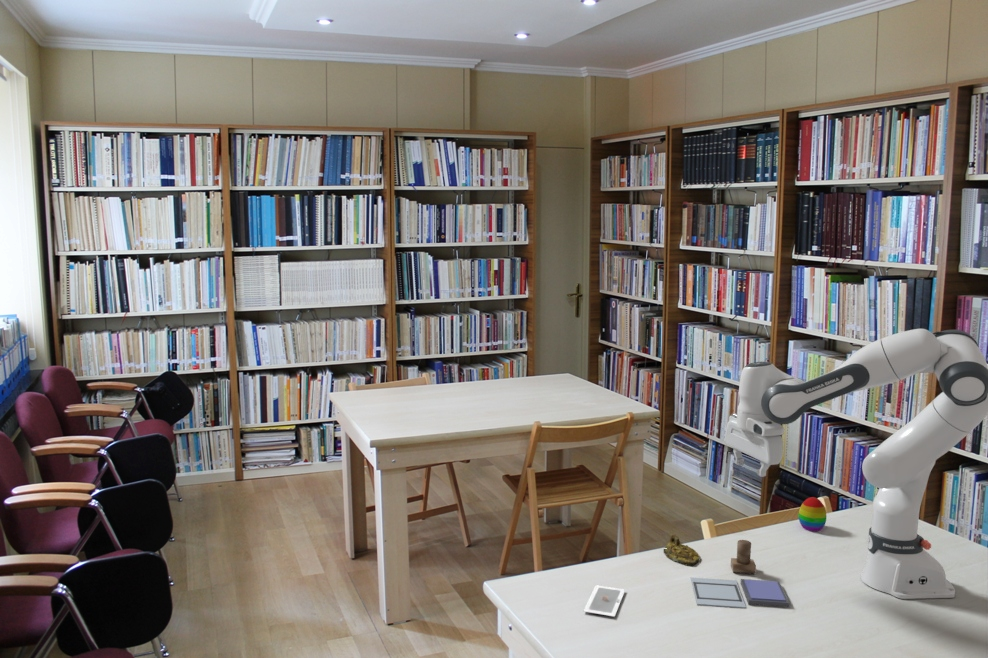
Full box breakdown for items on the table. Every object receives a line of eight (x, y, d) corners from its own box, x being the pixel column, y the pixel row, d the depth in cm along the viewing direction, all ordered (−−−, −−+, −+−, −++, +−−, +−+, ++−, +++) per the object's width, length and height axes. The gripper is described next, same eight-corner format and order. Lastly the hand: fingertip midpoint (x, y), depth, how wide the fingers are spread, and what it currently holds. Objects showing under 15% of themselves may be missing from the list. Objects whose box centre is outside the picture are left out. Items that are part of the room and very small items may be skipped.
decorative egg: (823, 534, 249) (825, 503, 247) (795, 529, 253) (797, 499, 251) (827, 526, 256) (829, 496, 254) (800, 521, 260) (802, 491, 258)
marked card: (735, 581, 217) (735, 579, 217) (745, 608, 202) (745, 606, 202) (690, 578, 218) (690, 577, 218) (696, 604, 204) (696, 603, 204)
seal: (708, 569, 227) (683, 547, 242) (710, 553, 227) (685, 532, 241) (678, 569, 225) (654, 546, 239) (680, 553, 224) (657, 531, 239)
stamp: (752, 568, 225) (754, 540, 224) (755, 574, 221) (756, 546, 220) (730, 567, 226) (732, 539, 224) (732, 573, 222) (734, 544, 221)
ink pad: (779, 585, 214) (779, 580, 214) (789, 607, 203) (789, 601, 202) (740, 583, 216) (740, 578, 215) (748, 604, 204) (748, 599, 204)
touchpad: (583, 615, 199) (583, 607, 199) (595, 588, 213) (595, 581, 213) (614, 620, 196) (614, 612, 196) (625, 593, 210) (625, 585, 210)
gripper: (720, 412, 225) (717, 459, 227) (768, 432, 206) (764, 483, 208) (739, 410, 227) (736, 457, 229) (788, 430, 208) (784, 481, 210)
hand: (750, 470), depth 218 cm, fingers open, 8 cm apart
